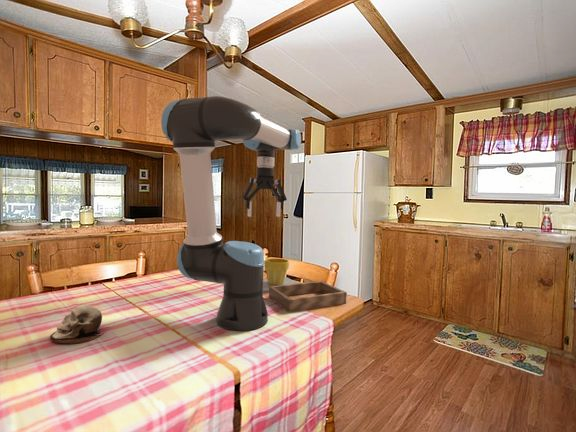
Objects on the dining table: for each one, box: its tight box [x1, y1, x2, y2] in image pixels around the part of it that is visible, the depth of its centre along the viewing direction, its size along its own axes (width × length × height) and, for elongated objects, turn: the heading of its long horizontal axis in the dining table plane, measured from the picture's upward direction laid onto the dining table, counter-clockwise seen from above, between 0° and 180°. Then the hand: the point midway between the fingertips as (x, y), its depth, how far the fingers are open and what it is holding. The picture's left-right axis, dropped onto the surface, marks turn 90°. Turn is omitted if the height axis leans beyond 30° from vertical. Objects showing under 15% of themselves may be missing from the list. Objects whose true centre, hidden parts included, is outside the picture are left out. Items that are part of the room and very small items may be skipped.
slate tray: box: [263, 276, 298, 294], centre depth 132 cm, size 18×15×1 cm
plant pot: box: [264, 257, 290, 285], centre depth 131 cm, size 10×10×10 cm
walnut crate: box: [268, 280, 348, 313], centre depth 114 cm, size 23×16×4 cm
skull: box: [49, 304, 105, 345], centre depth 81 cm, size 12×10×10 cm
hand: (264, 216), depth 136 cm, fingers open, 13 cm apart
